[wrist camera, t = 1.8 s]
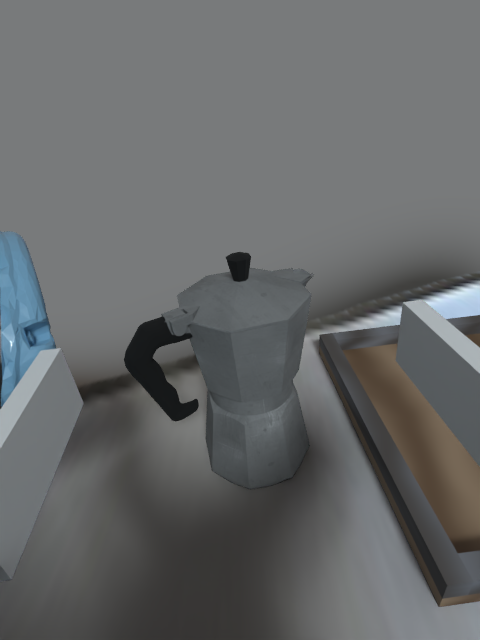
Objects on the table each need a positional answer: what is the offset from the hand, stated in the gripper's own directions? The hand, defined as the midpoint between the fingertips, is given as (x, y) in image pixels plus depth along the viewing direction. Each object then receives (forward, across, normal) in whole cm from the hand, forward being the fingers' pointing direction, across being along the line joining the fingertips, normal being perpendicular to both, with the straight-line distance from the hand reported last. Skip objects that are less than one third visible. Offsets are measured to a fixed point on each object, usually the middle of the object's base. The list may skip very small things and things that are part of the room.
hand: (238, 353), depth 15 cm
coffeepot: (+11, 0, -18) cm, 21 cm away
